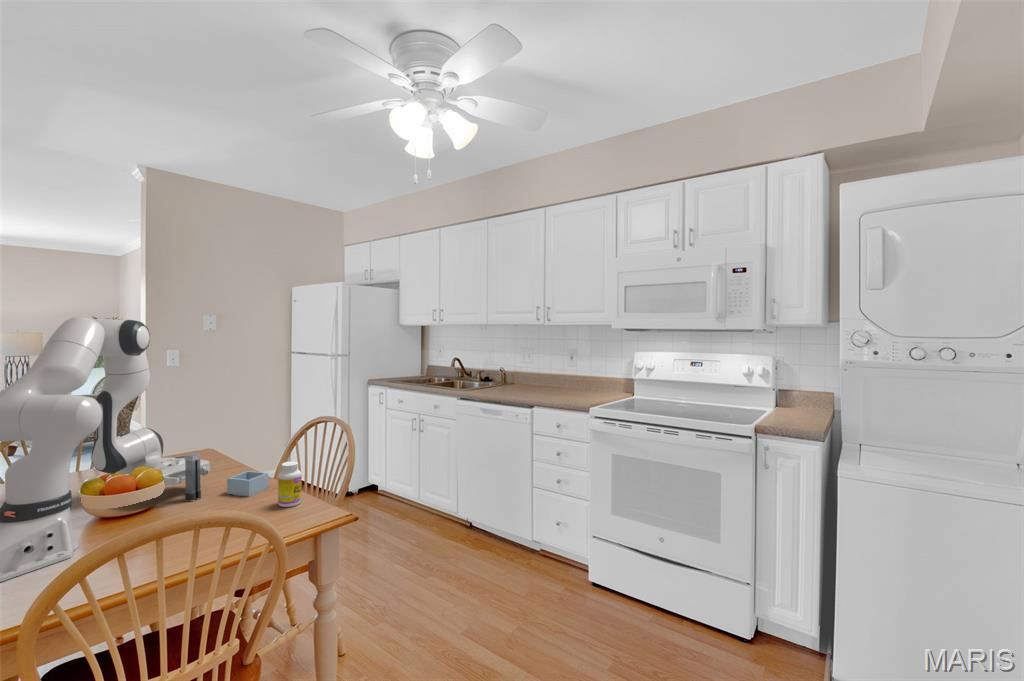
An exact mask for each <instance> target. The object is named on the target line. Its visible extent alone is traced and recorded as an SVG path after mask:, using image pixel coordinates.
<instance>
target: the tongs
mask: <svg viewBox="0 0 1024 681" xmlns="http://www.w3.org/2000/svg"><path fill="white" fill-rule="evenodd" d="M184 456H185V493H184V496H185V497H184V499H185V500H195V499H196V498H200V499H202V491H201V475H200V459H201V458H202V455H201V453H196V452H192V453H188V454H186V455H184ZM196 500H197V499H196ZM196 500H195V501H196Z"/></svg>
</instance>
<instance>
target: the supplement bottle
mask: <svg viewBox="0 0 1024 681" xmlns="http://www.w3.org/2000/svg"><path fill="white" fill-rule="evenodd" d="M298 468H299V462H298V461H285V462H283V463H281V470H282V471H280V472H279V473H278V476H277V490H278V492H277V503H278V506H279V507H283V508H290V507H291V508H292V507H295V506H298V505H299V504H300V503H301V502H302V472H301V470H299V469H298Z"/></svg>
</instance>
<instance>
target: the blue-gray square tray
mask: <svg viewBox="0 0 1024 681" xmlns="http://www.w3.org/2000/svg"><path fill="white" fill-rule="evenodd" d="M226 482H227V483H226V485H227V488H226V489H227V495H230V494H233V495H232V496H238V497H239V496H241V497H249V498H250V497H252V496H255V495H256V494H259V493H260V492H263V491H265V490H268V489H269V472H264V471H263V472H262V471H254V470H246V471H243V472H241V473H238V474H236V475H233V476H231V477H228V478H227V479H226Z"/></svg>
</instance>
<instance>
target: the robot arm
mask: <svg viewBox="0 0 1024 681" xmlns="http://www.w3.org/2000/svg"><path fill="white" fill-rule="evenodd" d="M150 342H151V332H150V330H149V328H148V326H146V324H144V323H143V322H142V321H139V320H133V319H126V320H124V319H115V318H113V319H111V318H89V317H84V316H76V317H75V316H74V317H71V318H69V319H66V320H65V321H63V323H62V324H61V325H59V326H58V328H57V329H56V330H54V332H53V333H52V335H51V336H50V337H49V339H48V340H47V341H46V343H45V345H44V346H43V347H42V350H41V352H40V353H39V354H38V356H37V358H36V359H35V360H34V362H33V363H32V365H31V366H30V368H29V369H28V370H27V371H26V372H25V373H24V374H23V375H21V377H19V378H18V379H17V380H15V381H13V382H12V383H10V384H9V385H8V386H7V387H5V388H4V389H2V390H0V442H22V441H24V442H26V441H27V442H28V441H31V448H30V451H29V453H28V454H27V455H24V456H22V457H20V458H18V459H17V460H15V461H13V462H12V463H11V464H10V465H9V466H8V467H7V469H6V470H5V472H4V487H5V490H4V492H5V496H4V497H5V501H4V502H3V503H2V505H1V507H0V583H1V582H4V581H7V580H10V579H13V578H16V577H18V576H22V575H25V574H27V573H29V572H33V571H36V570H39V569H41V568H45V567H47V566H50V565H53V564H55V563H58V562H61V561H62V562H63V561H64V560H68V559H70V558H72V556H73V555H74V554H73V552H74V551H75V550H76V549H77V548H78V547H79V546H80V543H79V540H78V539H77V536H76V533H75V530H74V525H73V521H72V513H71V510H72V506H73V500H72V499H73V496H72V495H73V494H72V490H70V466H71V460H72V457H73V455H74V453H75V451H76V449H77V447H79V444H80V443H81V442H82V441H83V440H85V439H86V438H87V437H89V436H90V435H92V434H94V435H93V447H92V450H91V455H90V457H91V459H90V460H91V464H92V466H93V467H94V468H95V469H96V470H97V471H99V472H101V473H104V474H105V473H106V474H113V475H114V474H116V473H119V474H120V473H123V474H131V472H132V471H133V470H134V469H135V468H137V467H142V466H144V467H150V468H153V469H159V470H161V471H162V473H163V476H164V483H165V485H166V486H169V485H179V484H181V483H182V481H186V479H185V455H183V456H178V457H177V456H176V457H163V453H164V441H163V438H162V436H161V435H160V433H158V432H157V431H155V430H154V429H152V428H149V427H142V428H140V429H137V430H134V431H131V432H129V433H127V434H124V435H122V436H118V437H117V433H118V432H117V429H118V424H117V422H118V416H119V414H120V412H121V411H122V410H123V409H124V407H125V406H127V405H128V404H130V402H132V401H133V400H135V399H136V398H138V397H140V396H141V395H142V394H143V393H145V391H146V390H147V388H148V387H149V385H150V383H151V371H150V366H149V360H148V356H147V353H146V350H147V349H148V348H149V346H150ZM99 357H103V368H104V375H105V376H104V378H105V379H104V384H103V387H102V390H101V392H99V394H98V395H96V399H95V398H93V397H91V396H90V397H89V396H85V395H79V394H71V393H73V392H74V391H77V390H78V389H80V388H82V387H83V386H84V385H85V383H87V381H88V379H89V378H90V377H89V376H90V375H91V373H92V371H93V369H94V367H95V365H96V363H97V361H98V359H99ZM210 469H211V462H210V461H209V460H206V459H200V476H207V475H210Z"/></svg>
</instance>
